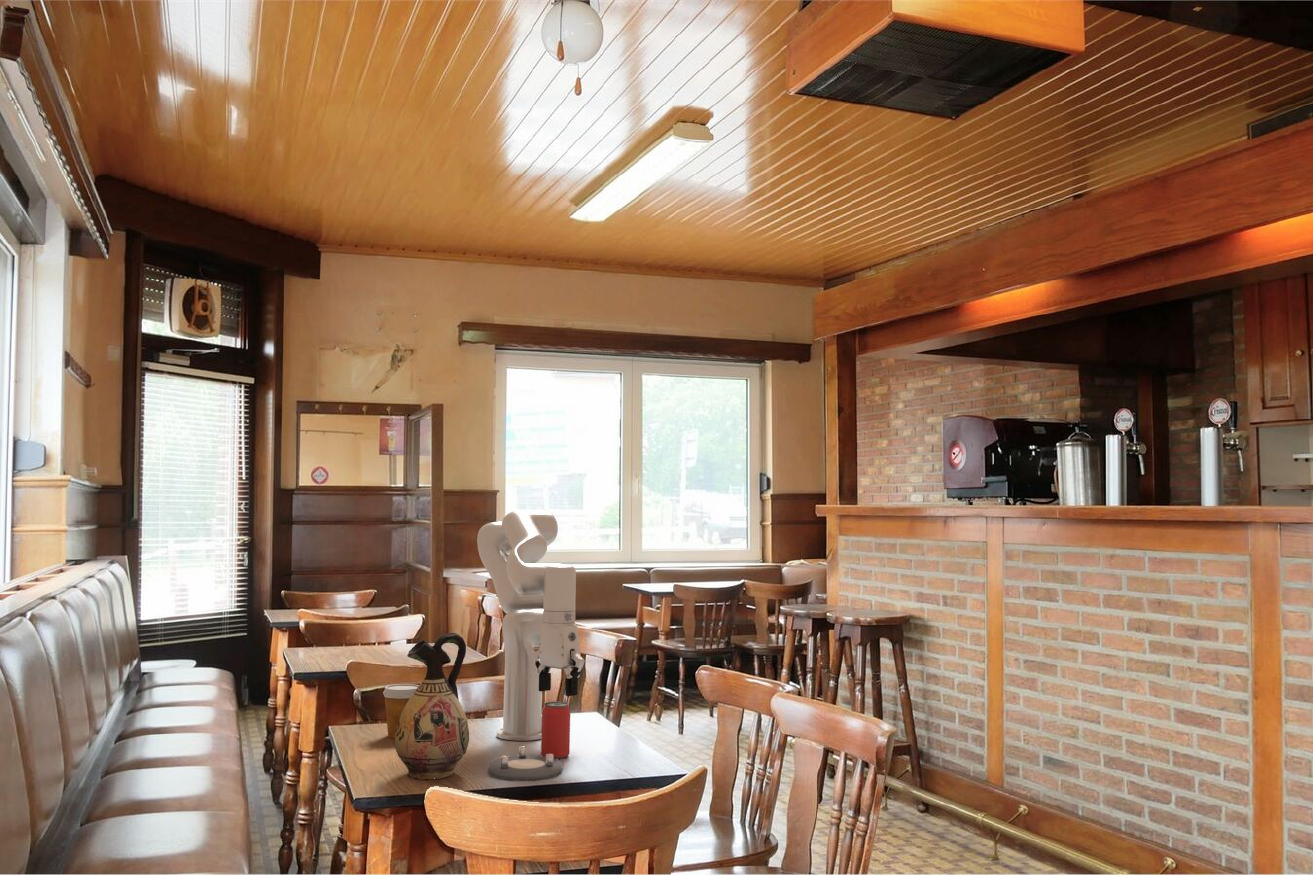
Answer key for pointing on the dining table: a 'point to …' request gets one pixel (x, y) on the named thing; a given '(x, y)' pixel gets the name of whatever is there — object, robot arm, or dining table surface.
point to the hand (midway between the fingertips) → (557, 693)
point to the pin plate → (525, 768)
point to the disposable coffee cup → (396, 704)
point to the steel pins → (522, 756)
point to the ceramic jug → (434, 715)
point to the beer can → (555, 730)
